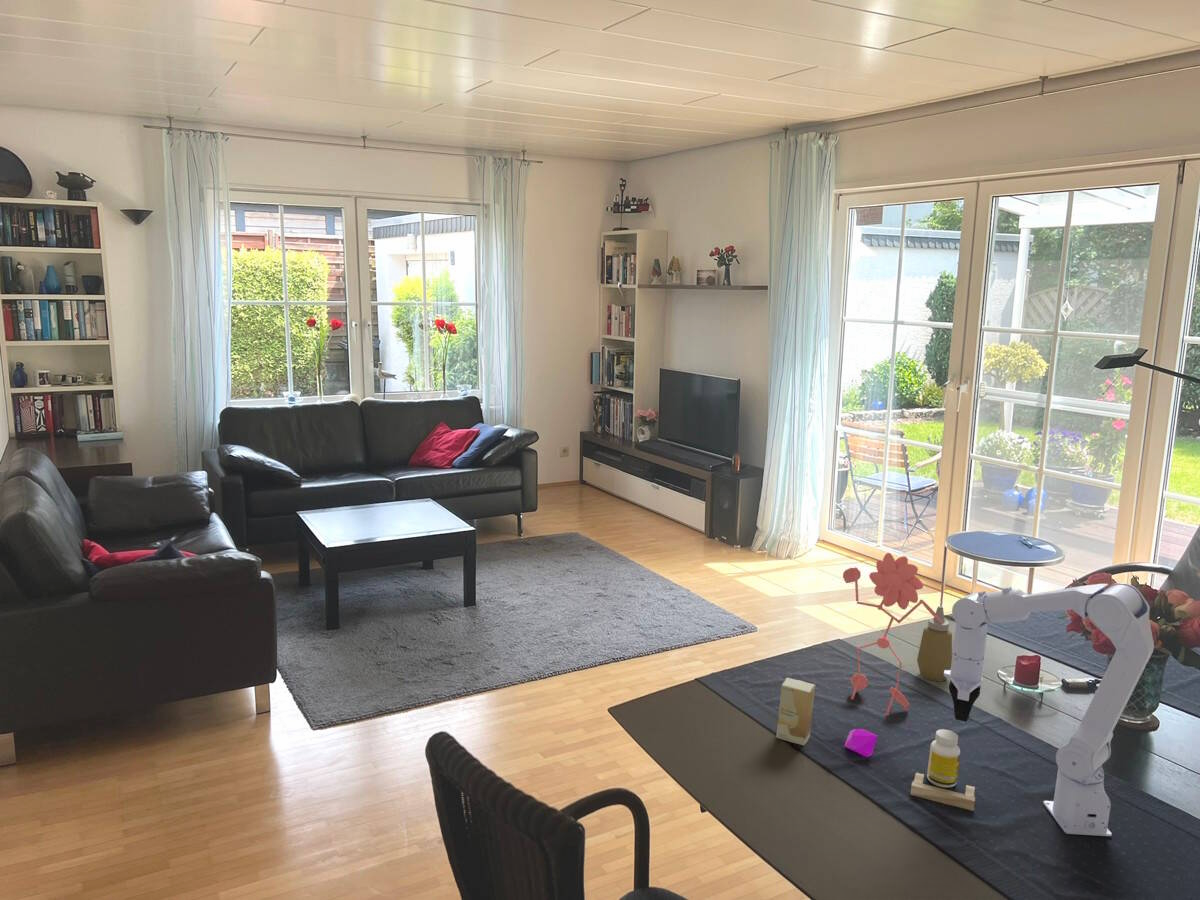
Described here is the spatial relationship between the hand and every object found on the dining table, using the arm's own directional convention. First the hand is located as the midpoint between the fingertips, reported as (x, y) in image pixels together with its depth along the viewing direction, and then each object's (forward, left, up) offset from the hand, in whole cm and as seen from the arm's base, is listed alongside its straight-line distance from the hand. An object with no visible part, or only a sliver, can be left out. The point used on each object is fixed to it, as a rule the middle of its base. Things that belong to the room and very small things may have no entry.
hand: (961, 719), depth 173 cm
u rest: (-11, +6, -10) cm, 16 cm away
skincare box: (+8, +31, -11) cm, 34 cm away
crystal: (+4, +18, -11) cm, 21 cm away
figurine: (+28, +7, -11) cm, 31 cm away
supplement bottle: (-5, +4, -11) cm, 13 cm away
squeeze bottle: (+42, -8, -11) cm, 44 cm away
